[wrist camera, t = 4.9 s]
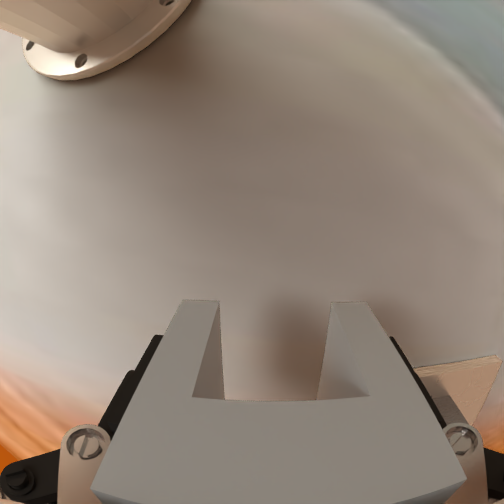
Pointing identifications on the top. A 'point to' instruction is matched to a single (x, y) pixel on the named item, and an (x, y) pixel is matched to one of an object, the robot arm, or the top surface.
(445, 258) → the top surface
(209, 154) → the top surface
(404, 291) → the top surface
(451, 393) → the rail
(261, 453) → the grey block
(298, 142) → the top surface
